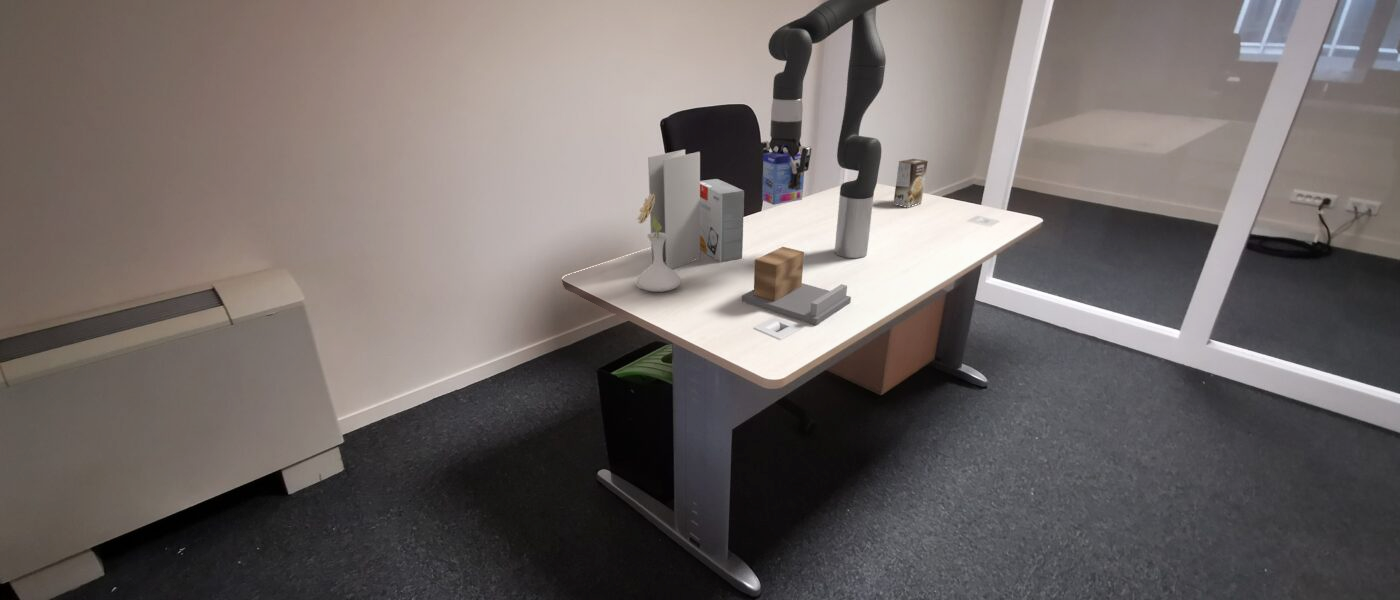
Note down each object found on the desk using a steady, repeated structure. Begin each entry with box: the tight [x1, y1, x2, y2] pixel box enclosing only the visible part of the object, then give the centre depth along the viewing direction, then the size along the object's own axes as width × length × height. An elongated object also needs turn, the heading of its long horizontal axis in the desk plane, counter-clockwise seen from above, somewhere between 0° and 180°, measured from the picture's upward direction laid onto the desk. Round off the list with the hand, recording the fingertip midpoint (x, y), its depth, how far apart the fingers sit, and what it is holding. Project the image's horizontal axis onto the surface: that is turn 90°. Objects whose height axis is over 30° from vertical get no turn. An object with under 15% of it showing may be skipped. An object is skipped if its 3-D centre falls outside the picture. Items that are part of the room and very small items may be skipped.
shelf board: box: [741, 282, 852, 326], centre depth 149 cm, size 16×20×4 cm
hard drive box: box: [700, 178, 745, 263], centre depth 178 cm, size 16×8×20 cm, turn 27°
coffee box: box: [892, 158, 929, 208], centre depth 227 cm, size 9×6×16 cm
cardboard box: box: [753, 246, 805, 301], centre depth 150 cm, size 12×6×9 cm, turn 140°
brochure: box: [647, 149, 701, 270], centre depth 168 cm, size 14×6×30 cm, turn 141°
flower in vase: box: [635, 193, 682, 293], centre depth 152 cm, size 13×11×25 cm
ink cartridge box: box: [761, 144, 805, 206], centre depth 157 cm, size 10×6×14 cm, turn 123°
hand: (783, 185), depth 158 cm, fingers closed on ink cartridge box, 6 cm apart
